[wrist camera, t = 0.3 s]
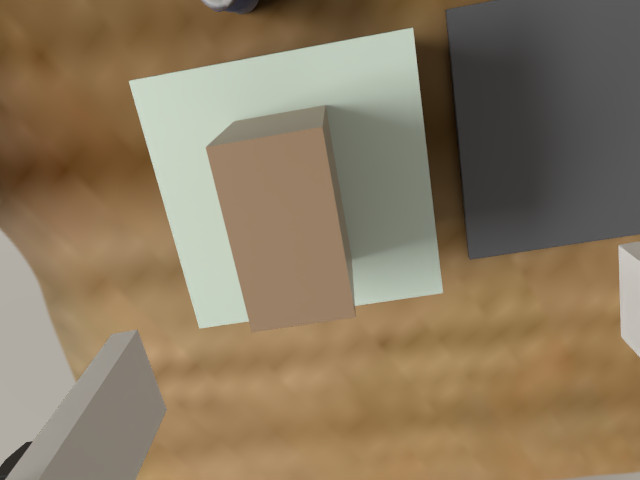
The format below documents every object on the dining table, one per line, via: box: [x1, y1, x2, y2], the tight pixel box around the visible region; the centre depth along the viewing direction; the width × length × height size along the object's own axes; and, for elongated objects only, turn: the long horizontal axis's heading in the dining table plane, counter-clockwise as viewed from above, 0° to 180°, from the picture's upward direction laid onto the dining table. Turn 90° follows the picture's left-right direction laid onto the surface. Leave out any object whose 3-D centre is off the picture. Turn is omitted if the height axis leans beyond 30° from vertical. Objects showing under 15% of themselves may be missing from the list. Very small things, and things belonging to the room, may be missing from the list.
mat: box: [446, 0, 640, 260], centre depth 40 cm, size 18×18×1 cm
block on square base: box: [129, 28, 443, 332], centre depth 30 cm, size 15×15×10 cm
